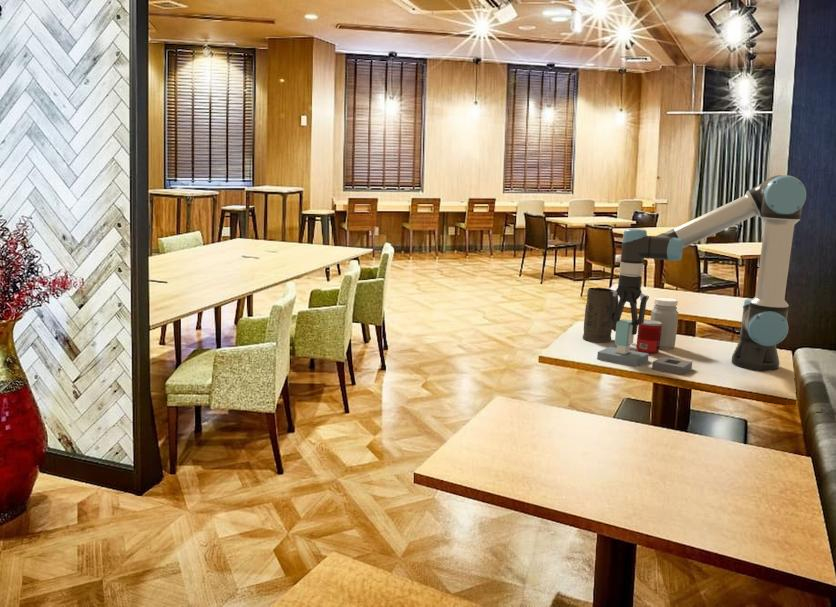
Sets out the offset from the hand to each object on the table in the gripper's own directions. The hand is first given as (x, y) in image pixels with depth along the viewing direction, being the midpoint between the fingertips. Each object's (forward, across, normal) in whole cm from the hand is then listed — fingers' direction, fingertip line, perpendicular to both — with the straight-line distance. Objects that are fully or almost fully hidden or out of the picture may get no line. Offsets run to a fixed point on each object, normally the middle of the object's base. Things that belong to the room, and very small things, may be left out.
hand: (623, 342), depth 268 cm
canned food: (+6, -2, -19) cm, 20 cm away
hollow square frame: (+6, -17, 0) cm, 18 cm away
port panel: (+6, 0, 0) cm, 6 cm away
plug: (+4, 0, 0) cm, 4 cm away
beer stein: (+7, +19, -26) cm, 33 cm away
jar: (+6, -3, -31) cm, 32 cm away
